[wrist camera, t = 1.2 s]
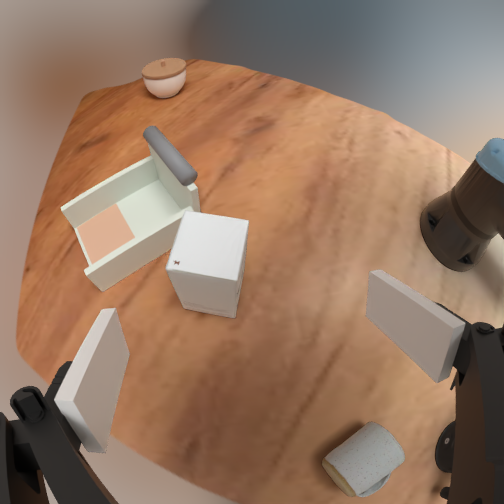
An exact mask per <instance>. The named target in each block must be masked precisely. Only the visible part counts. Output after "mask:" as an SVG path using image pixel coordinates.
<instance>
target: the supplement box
mask: <svg viewBox="0 0 504 504" xmlns="http://www.w3.org/2000/svg"><path fill="white" fill-rule="evenodd" d="M248 227H249V221H248V220H243V219H237V218H231V217H225V216H218V215H211V214H206V213H200V212H194V211H189V210H185V212H184V214H183V217H182V220H181V223H180V225H179V228H178V232H177V234H176V237H175V240H174V244H173V247H172V250H171V253H170V256H169V259H168V263H167V265H166V271H167V273H168V276H169V278H170V280H171V282H172V284H173V287H174V289H175V291H176V293H177V295H178V297H179V300H180V302H181V304H182V306H183V308H184V309H189V310H193V311H198V312H203V313H208V314H213V315H219V316H224V317H230V318H236V311H237V306H238V301H239V296H240V290H241V285H242V280H243V274H244V268H245V259H246V250H247V237H248Z"/></svg>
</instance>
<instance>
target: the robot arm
mask: <svg viewBox="0 0 504 504" xmlns="http://www.w3.org/2000/svg"><path fill="white" fill-rule="evenodd" d="M420 224H421V231H422V234H423V237H424V240H425V242H426V244H427V246H428V247H429V249H430V250H431V252H432V253H433V254H434V256H435V257H436V258H437V259H438V260H439V261H440V262H441V263H443V264H444V265H445V266H447V267H448V268H450V269H452V270H455V271H467V270H469V269H471V268H472V267H473V266H474V265H476V264H477V263H478V262H479V260H480V259H481V257H482V255H483V254H484V252H485V250H486V248H487V246H488V244H489V243H490V241H491V239H492V238H493V237H494V236H495V235H497V234H498V233H499V234H500V235H501V237H502V238H503V239H504V139H501V138H493V139H491V140H489V141H488V142H487V144H486V145H485V146H484V148H483V149H482V150H481V151H479V152H478V153H477V155H476V159H475V160H474V161H473V163H472V164H471V165H470V167H469V168H468V169H467V171H466V172H465V173H464V175H463V176H462V177H461V178H460V180H459V181H458V182H457V184H456V185H455V186H454V187H453V189H452V190H451V191H449V192H447V193H445V194H443V195H442V196H440V197H438V198H436V199H434V200H433V201H431V202H430V203H429V204H428V206H427V207H426V208H425V209H424V211H423V212H422V215H421V220H420ZM366 317H367V318H368V319H369V320H370V321H371V322H373V323H374V324H375V325H376V326H377V327H378V328H379V329H380V330H381V331H382V332H383V333H384V334H385V335H387V336H388V337H389V338H390V339H391V340H392V341H393V342H394V343H395V344H396V345H397V346H398V347H399V348H400V349H401V350H402V351H404V352H405V353H406V354H407V355H408V356H409V357H410V358H411V359H412V360H413V361H414V362H415V363H416V364H417V365H418V366H419V367H420V368H421V369H422V370H423V371H425V372H426V373H427V374H428V375H429V376H430V377H431V378H432V379H433V380H434V381H435V382H436V383H438V382H440V381H442V380H444V379H446V378H448V377H449V375H450V372H451V369H452V366H454V367H455V368H456V369H457V372H456V375H455V377H454V380H453V383H452V385H451V388H450V390H453V387H454V386H455V387H456V426H455V445H454V458H453V467H452V476H451V483H450V490H449V496H448V501H447V504H504V324H503V327H502V328H498V329H495V328H494V327H493V326H492V325H490V324H487V323H483V322H477V323H474V324H473V325H472V324H470V323H469V322H467V321H466V320H464V319H463V318H461V317H460V316H458V315H457V314H455V313H453V312H452V311H450V310H448V309H447V308H446V307H444V306H443V305H441V304H439V303H436V302H433V301H431V300H429V299H428V298H426V297H425V296H423V295H422V294H420V293H418V292H417V291H415V290H414V289H412V288H410V287H409V286H407V285H406V284H404V283H402V282H401V281H399V280H397V279H396V278H394V277H393V276H391V275H389V274H388V273H386V272H384V271H383V270H381V269H379V270H374V271H369V282H368V296H367V307H366ZM129 356H130V353H129V350H128V347H127V344H126V341H125V337H124V334H123V331H122V328H121V324H120V321H119V318H118V314H117V311H116V308H110V309H102V310H101V312H100V313H99V315H98V317H97V319H96V320H95V322H94V324H93V325H92V327H91V329H90V331H89V333H88V334H87V336H86V338H85V340H84V342H83V343H82V345H81V347H80V349H79V351H78V353H77V355H76V356H75V358H74V360H73V361H67V362H66V363H65V364H63V365H62V366H61V367H60V368H59V370H58V371H57V373H56V375H55V378H54V379H53V381H52V384H51V385H50V387H49V388H48V391H47V393H46V394H45V396H44V397H43V395H42V393H41V391H40V390H39V389H38V388H37V387H34V386H27V387H23V388H21V389H19V390H18V391H16V392H15V393H14V394H13V395H12V397H11V399H10V405H11V407H12V409H13V410H14V412H15V413H16V414H17V416H18V417H19V420H12V421H8V419H7V418H6V417H5V415H4V414H3V413H2V412H0V504H49V500H48V496H47V493H46V488H45V483H44V478H43V475H44V477H45V479H46V481H47V483H48V485H49V487H50V489H51V491H52V493H53V494H54V497H55V498H56V500H57V502H58V504H118V502H117V501H116V500H115V499H114V497H113V496H112V495H111V494H110V493H109V491H108V490H107V489H106V487H105V486H104V485H103V484H102V482H101V481H100V479H99V478H98V477H97V475H96V474H95V473H94V471H93V470H92V468H91V467H90V466H89V464H88V463H87V461H86V460H85V458H84V457H83V455H82V454H81V452H80V451H79V449H80V445H81V443H82V444H83V446H84V447H85V449H86V450H87V451H88V452H97V453H106V449H107V444H108V440H109V435H110V430H111V426H112V421H113V417H114V413H115V409H116V405H117V401H118V397H119V393H120V389H121V385H122V381H123V377H124V374H125V370H126V366H127V363H128V359H129Z"/></svg>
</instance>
